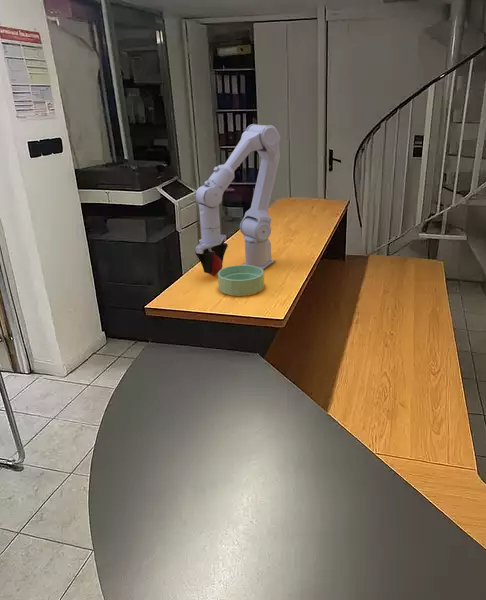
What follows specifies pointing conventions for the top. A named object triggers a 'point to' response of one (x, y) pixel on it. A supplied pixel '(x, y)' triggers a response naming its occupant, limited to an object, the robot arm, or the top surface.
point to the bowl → (241, 280)
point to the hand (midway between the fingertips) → (213, 269)
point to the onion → (216, 265)
